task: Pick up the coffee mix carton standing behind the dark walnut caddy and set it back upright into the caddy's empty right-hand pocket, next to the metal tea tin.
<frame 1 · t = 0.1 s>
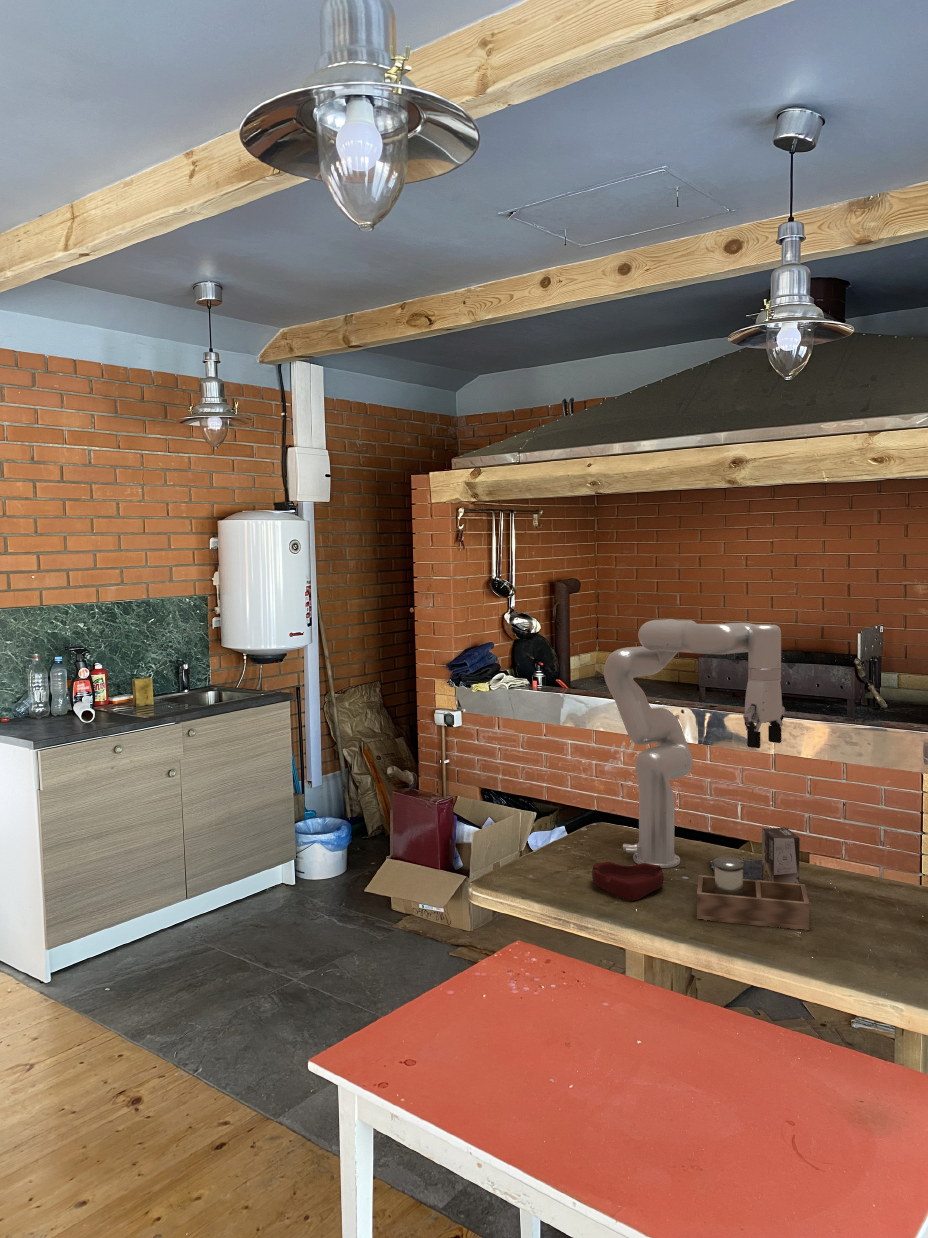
hand: (764, 744, 215), 37 cm above the table, tool pointing down, fingers open, 9 cm apart
coffee box: (780, 898, 214), on the table
caddy: (751, 914, 204), on the table
ashtray: (628, 893, 220), on the table
tea tin: (728, 912, 205), resting on caddy
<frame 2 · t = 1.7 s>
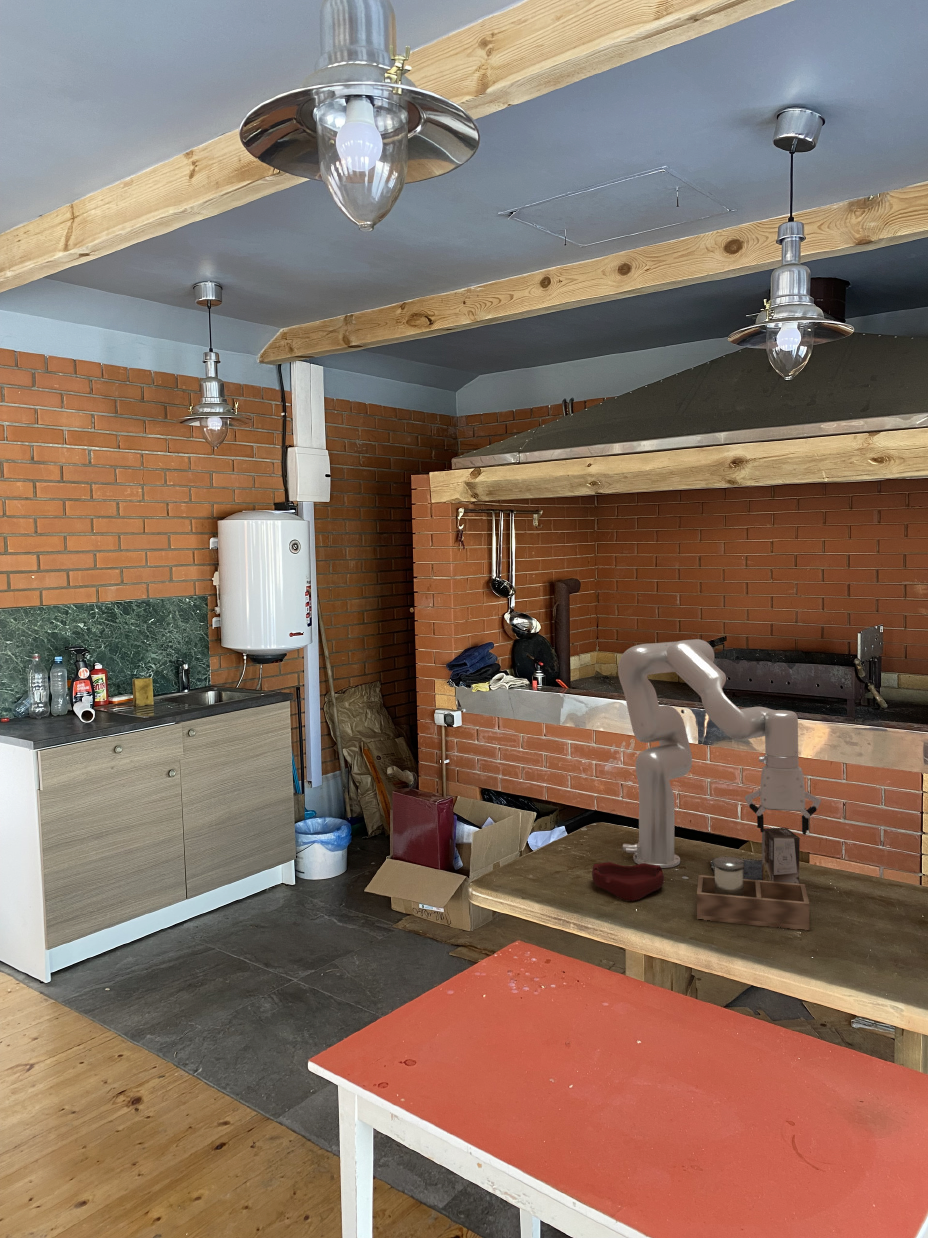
hand: (782, 832, 213), 16 cm above the table, tool pointing down, fingers open, 9 cm apart
nothing on the table moved.
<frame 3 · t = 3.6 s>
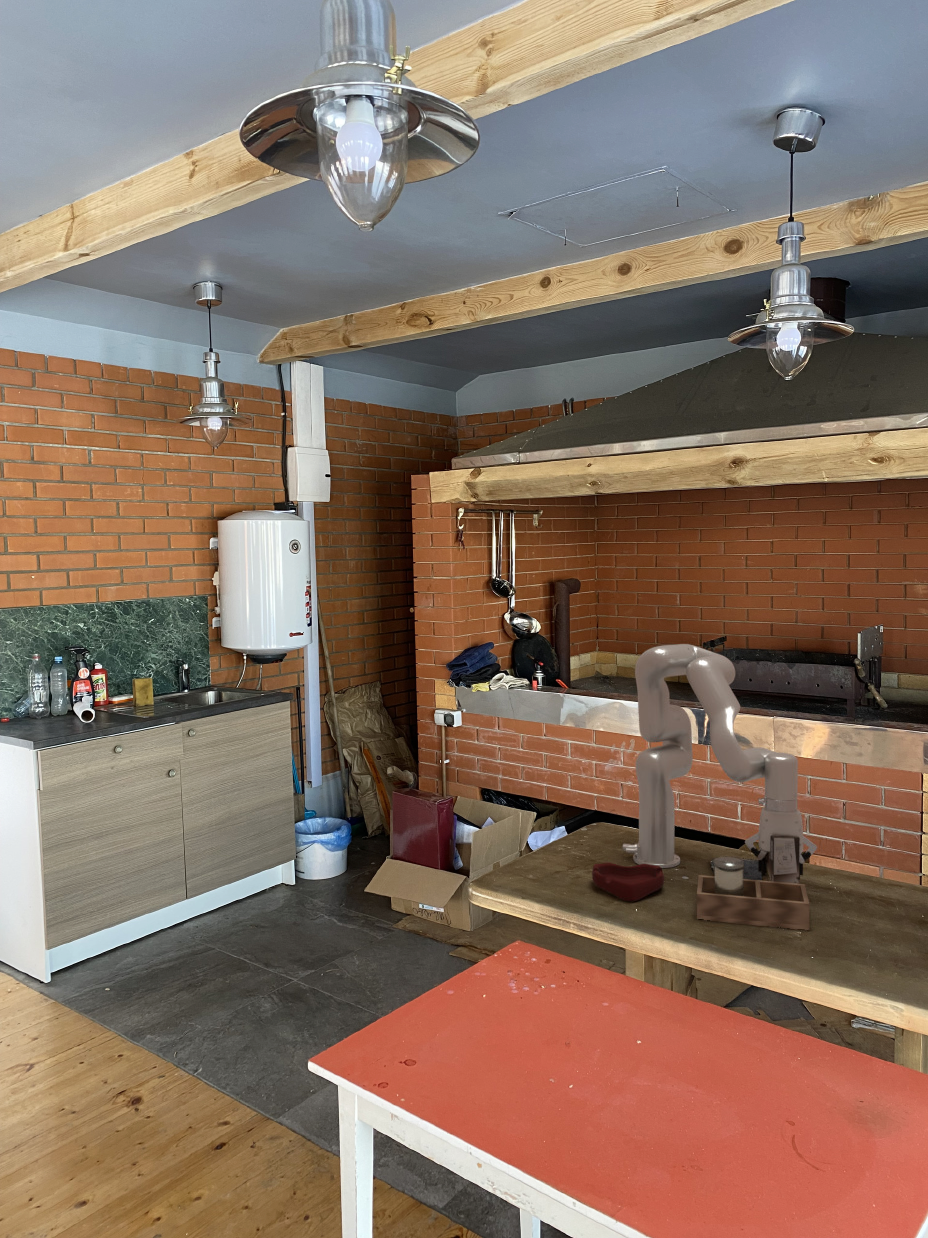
hand: (780, 876, 214), 5 cm above the table, tool pointing down, fingers closed on coffee box, 7 cm apart
coffee box: (780, 898, 214), on the table, touching gripper
everything else where it was.
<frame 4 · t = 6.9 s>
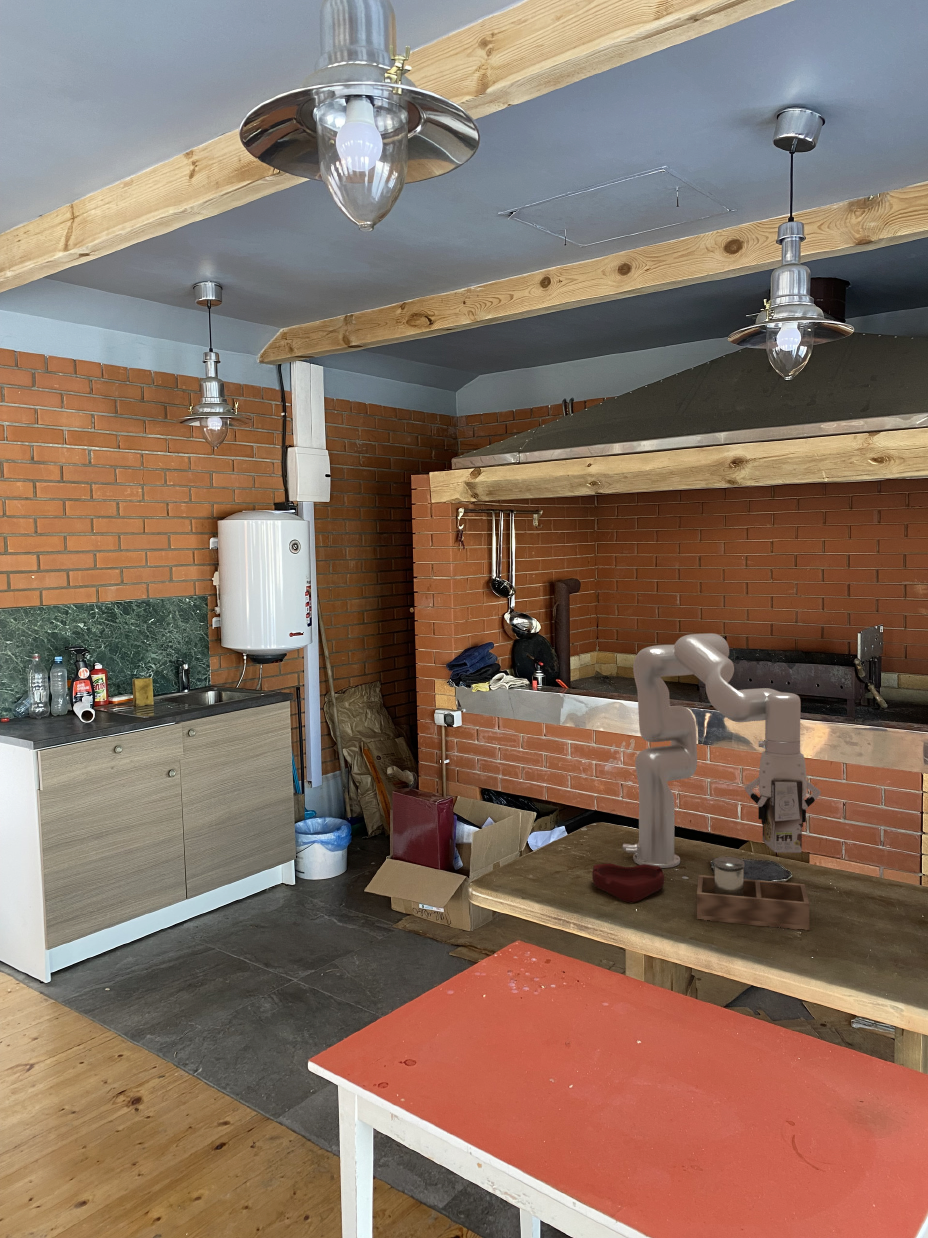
hand: (781, 823, 201), 22 cm above the table, tool pointing down, fingers closed on coffee box, 7 cm apart
coffee box: (781, 847, 201), point 16 cm above the table, touching gripper
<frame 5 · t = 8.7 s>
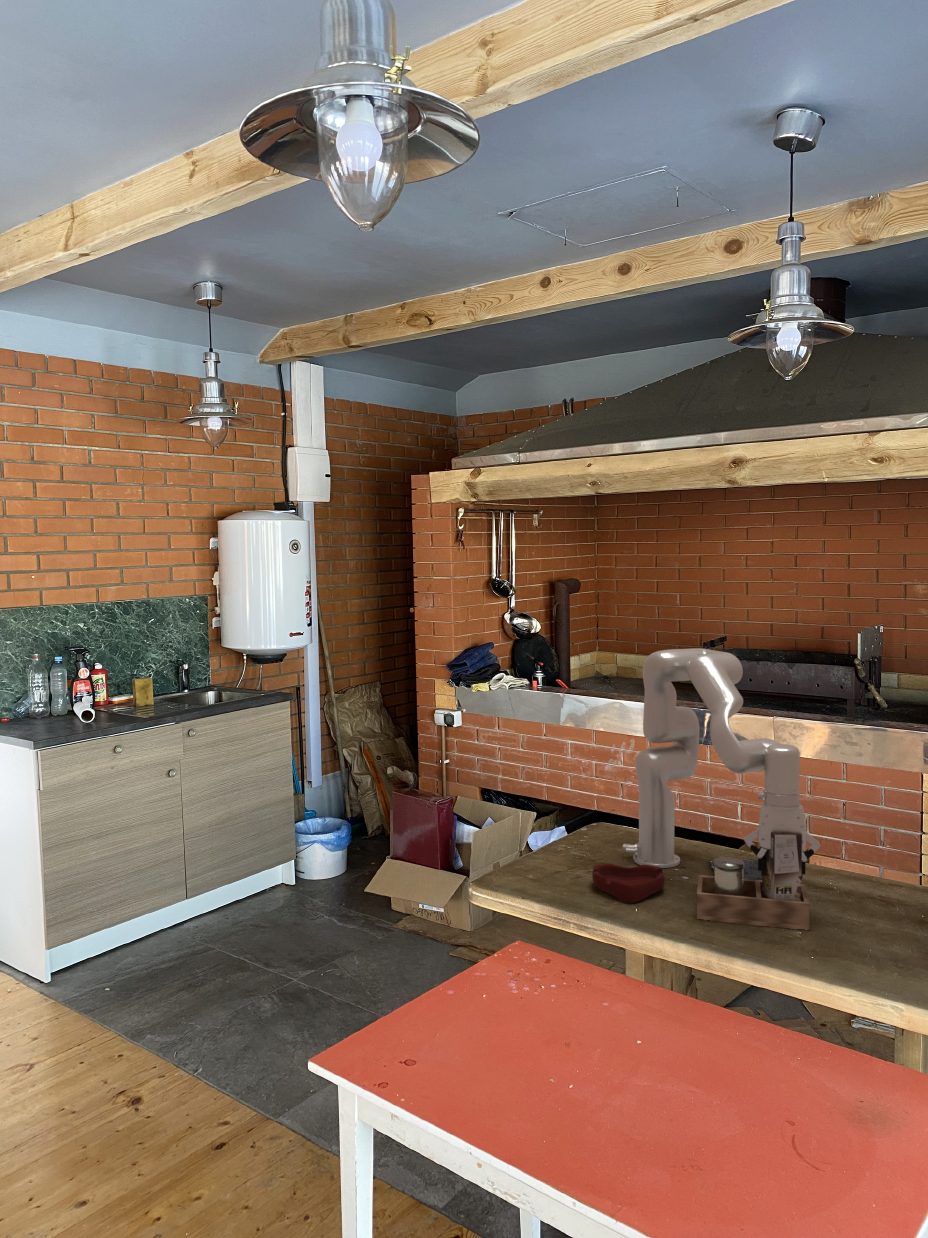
hand: (781, 875, 202), 10 cm above the table, tool pointing down, fingers closed on coffee box, 7 cm apart
coffee box: (781, 899, 202), point 4 cm above the table, touching gripper
when the fingers open (8 cm above the table, at t = 10.3 s): coffee box drops 1 cm, resting on caddy.
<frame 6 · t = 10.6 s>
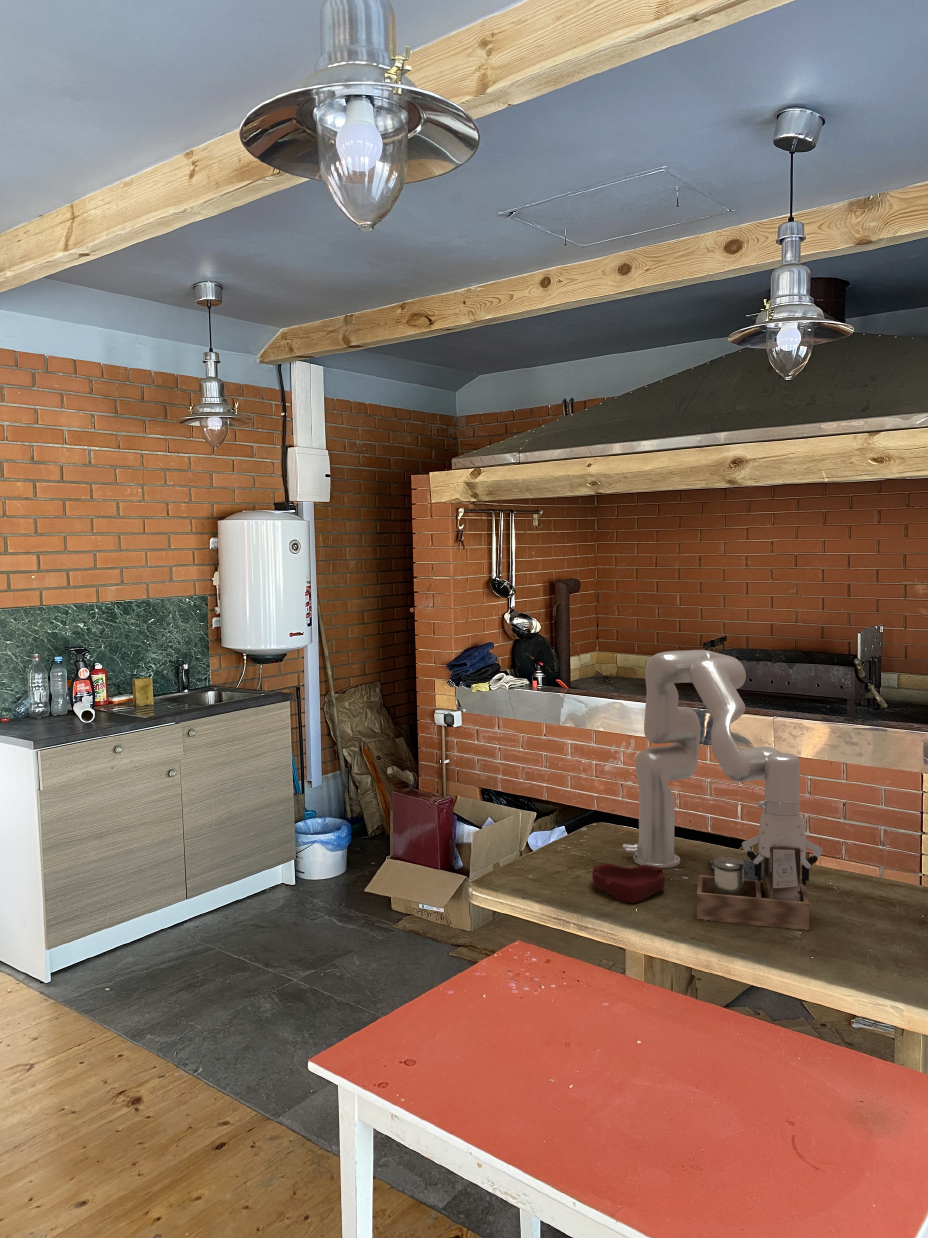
hand: (781, 881, 202), 8 cm above the table, tool pointing down, fingers open, 9 cm apart
coffee box: (780, 913, 202), point 1 cm above the table, touching caddy
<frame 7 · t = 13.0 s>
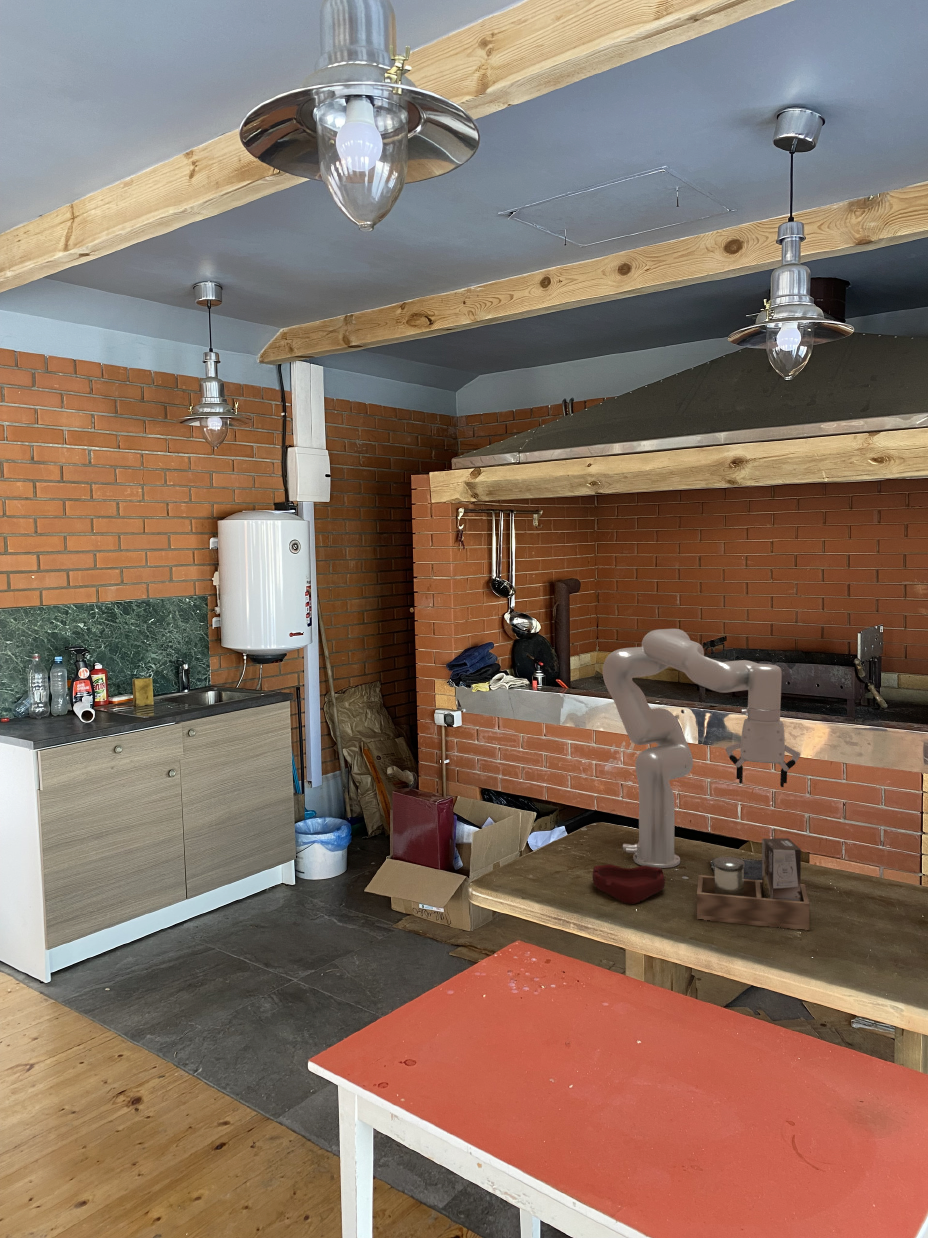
hand: (761, 784, 216), 27 cm above the table, tool pointing down, fingers open, 9 cm apart
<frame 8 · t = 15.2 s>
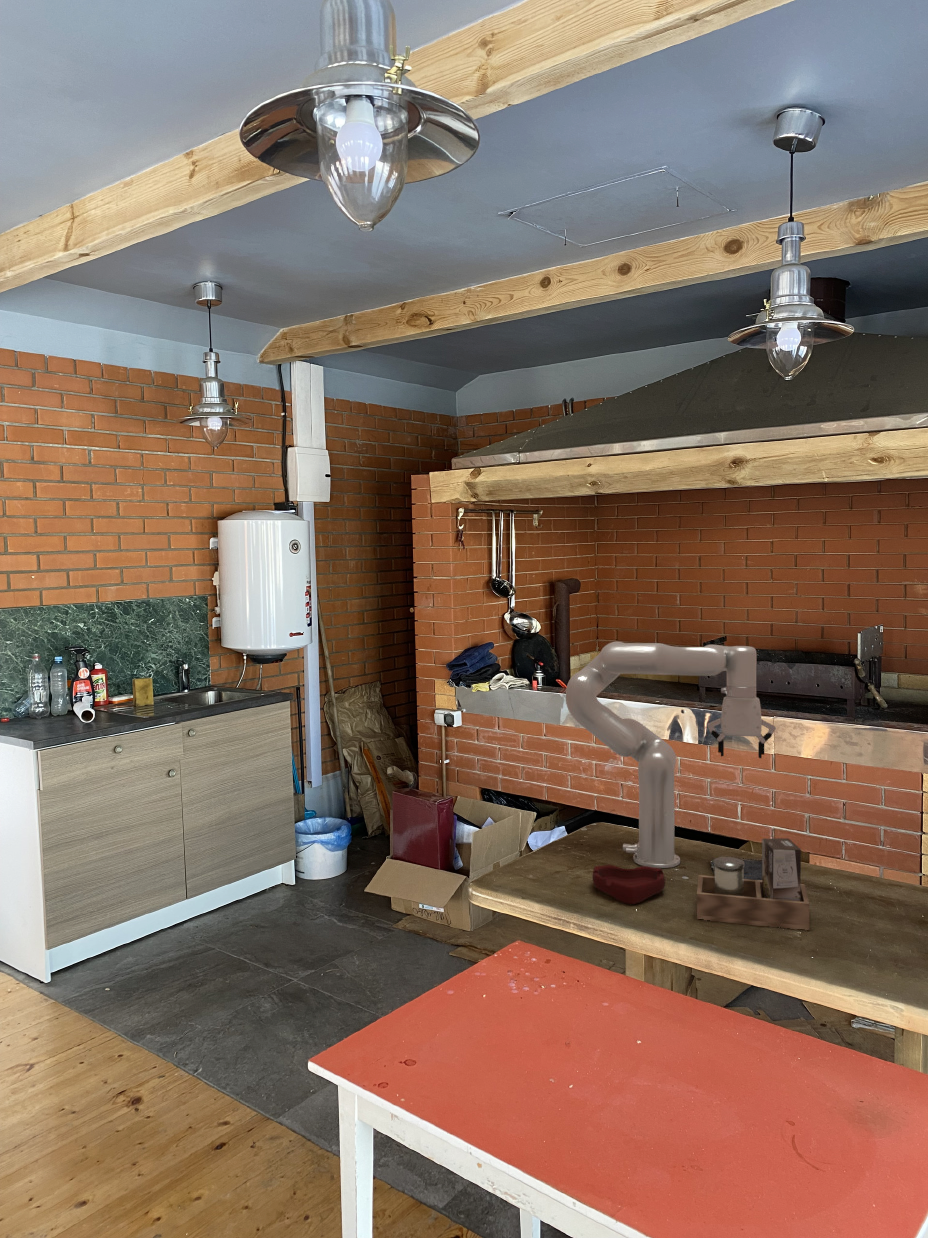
hand: (740, 756, 235), 30 cm above the table, tool pointing down, fingers open, 9 cm apart
at the end: coffee box inside the target area on the caddy (0.4 cm from its centre), point 0.8 cm above the caddy's base; coffee box tilted 0°; the gripper is holding nothing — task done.
